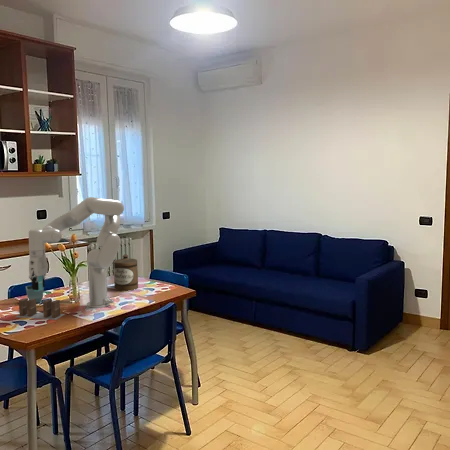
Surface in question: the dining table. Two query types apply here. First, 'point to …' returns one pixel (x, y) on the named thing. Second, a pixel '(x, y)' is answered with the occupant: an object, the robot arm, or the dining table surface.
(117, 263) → the wooden container
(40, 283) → the teal domino
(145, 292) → the dining table surface
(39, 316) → the felt runner
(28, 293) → the flower pot
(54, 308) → the domino
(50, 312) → the domino
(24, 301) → the domino
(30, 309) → the domino
